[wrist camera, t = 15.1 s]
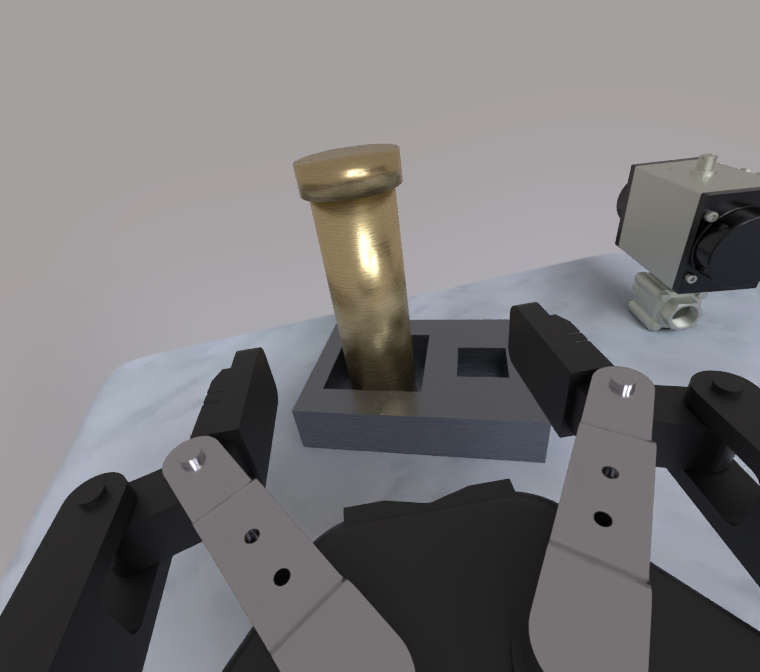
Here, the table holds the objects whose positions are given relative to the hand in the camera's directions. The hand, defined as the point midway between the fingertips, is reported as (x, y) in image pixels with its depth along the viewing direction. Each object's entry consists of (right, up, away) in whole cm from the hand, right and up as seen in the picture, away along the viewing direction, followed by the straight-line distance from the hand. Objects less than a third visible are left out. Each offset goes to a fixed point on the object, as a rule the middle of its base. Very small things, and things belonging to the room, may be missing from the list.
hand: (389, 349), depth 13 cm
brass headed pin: (0, -3, +15) cm, 15 cm away
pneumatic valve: (+22, +2, +19) cm, 29 cm away
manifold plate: (+3, -4, +14) cm, 15 cm away
